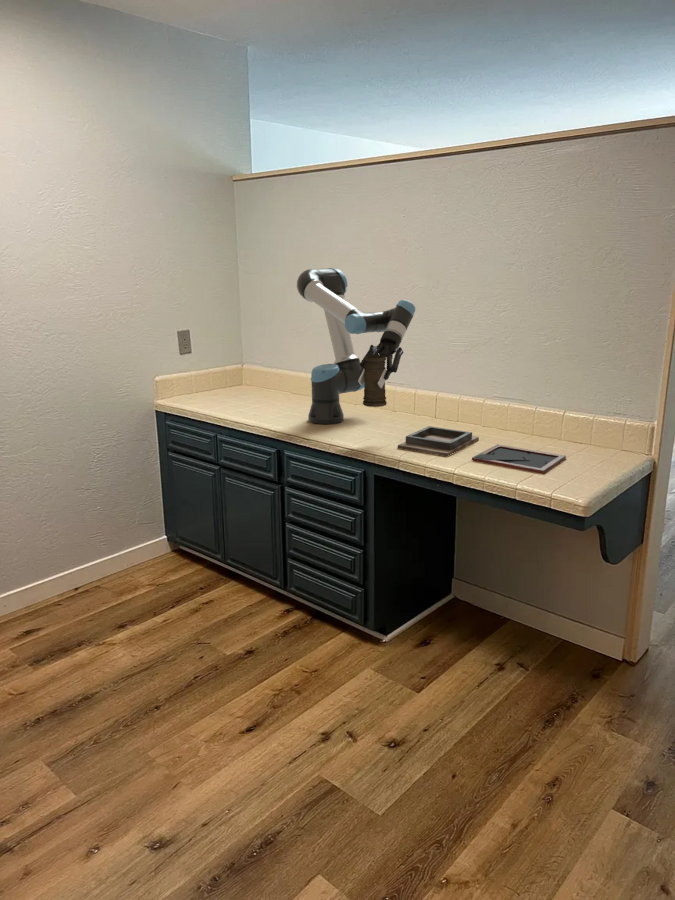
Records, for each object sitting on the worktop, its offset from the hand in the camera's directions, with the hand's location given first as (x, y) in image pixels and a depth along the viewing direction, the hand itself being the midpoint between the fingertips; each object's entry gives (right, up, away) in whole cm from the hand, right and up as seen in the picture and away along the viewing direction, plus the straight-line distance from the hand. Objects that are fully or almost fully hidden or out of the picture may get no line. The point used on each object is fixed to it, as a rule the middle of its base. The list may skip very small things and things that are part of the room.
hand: (369, 384), depth 249 cm
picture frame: (+50, -28, -20) cm, 60 cm away
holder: (+26, -22, +1) cm, 34 cm away
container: (+2, -7, +5) cm, 9 cm away
